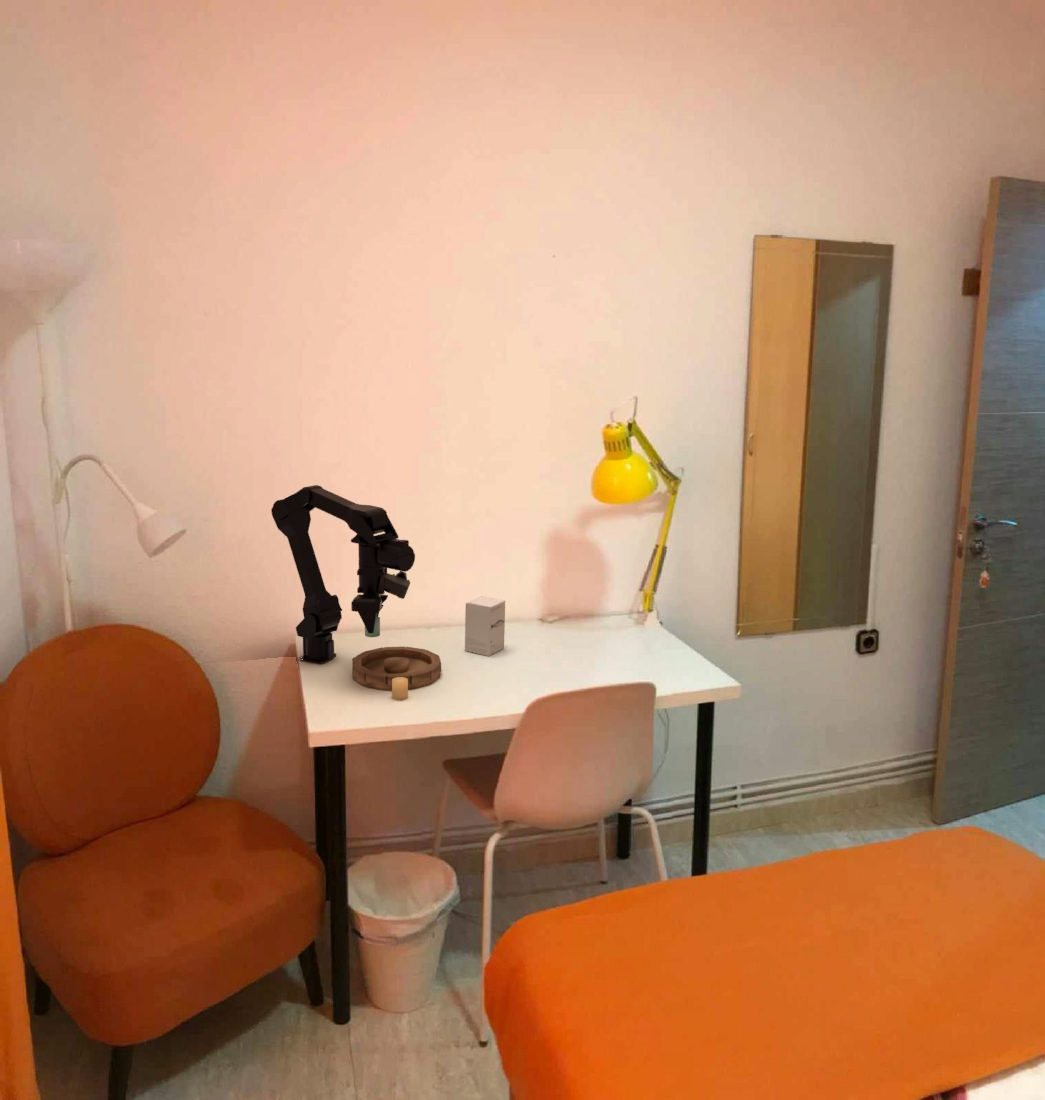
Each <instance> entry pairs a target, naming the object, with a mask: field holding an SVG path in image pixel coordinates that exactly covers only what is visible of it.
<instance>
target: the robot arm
mask: <svg viewBox="0 0 1045 1100" xmlns="http://www.w3.org/2000/svg"><path fill="white" fill-rule="evenodd" d="M315 508H316V509H318V510H319V511H323V512H324V513H327V514H328V515H331V516H333V517H334V518H337V519H339V520H342V521H343V522H345V523H346V524H347V526H348V528H349V529H350V530H351V531H352V532H354V534H355V533H356V535H355V536H353V537H352V538H351V539H350V542H351V543H353V544H358V569H357V571H356V576H358V587H357V591H356V593H357V595H356V596H355V597H353V599H352V601H351V612H357V613H358V615H359V617H360V619H361V621H362V622H363V624H364V628H365V627H366V629H367V631H368V633H373V632H374V627H375V621H376V616H378V617H379V614H380V612H381V610H382V609H383V607H384V603H385V602H386V600H387V599H388V597H389V595H388V594H390V595H393V596H396V597H397V598H399V599H401V600H403V599H405V597H406V596H407V593H408V590H409V587H410V584H411V581H410V579H408V577H407V576H408V575H407V572H408V571H410V570H411V569H412V568H413V566H414V563H415V561H416V554H415V551H414V549H413V547H412V546H410V541H409V540H408V539H399V535H398V533H397V531H396V529H395V528H394V526H393V524H392V521H391V520H390V517H389V515H388V514H387V511H386V510H385V508H383V507H380V506H376V505H371V504H359V503H356V502H354V501H352V500H349V499H347V498H345V497H344V496H343V497H342V496H341V495H338V494H336V493H334V492H331V491H329V490H327V489H324V488H323V487H322V486H321V485H318V484H314V485H308V486H304V487H302V488H301V489H300V490H298V491H297V492H294V493H293V494H291V495H289V496H287V497H285V498H283V499H278V500H276V501H274V503H273V504H272V508H271V510H270V511H271V516H272V518H273V521H274V523H275V525H276V527H277V529H278V530H279V531H280V532H281V533H282V535H284V536H285V537H286V538H287V540H288V544H289V547H290V551H291V554H292V557H293V561H294V564H295V567H296V571H297V573H298V576H299V580H300V583H301V586H302V590H303V593H304V601H303V605H302V614H303V619H302V620H301V621H300V622H299V623H298V624H297V625H296V627H295V629H296V630H295V631H296V634H297V636H298V637H301V638H302V656H301V657H302V658H300V657H299V660H300V659H303V660H305V661H304V662H310V663H317V664H325V663H326V662H328V661H330V660H332V659H333V658H335V657H336V656H337V653H335V640H334V639H333V632H337V631H338V627H339V625H340V622H341V620H342V616H343V615H342V611H343V609H342V607H341V605H340V600H339V596H338V595H337V594H333V595H332V594H331V593H330V592H329V591H328V590H327V589H326V586H325V583H324V580H323V576H322V573H321V569H320V567H319V563H318V560H317V556H316V554H315V550H314V546H313V543H312V540H311V537H310V533H309V530H310V525H311V521H312V519H311V513H310V512H312V511H313V510H314V509H315ZM388 569H392V570H395V571H398V573H396V574H395V573H393V574H392V573H388ZM385 592H386V593H388V594H386V593H385ZM303 660H302V661H303Z"/></svg>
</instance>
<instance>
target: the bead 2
mask: <svg viewBox="0 0 1045 1100" xmlns="http://www.w3.org/2000/svg"><path fill="white" fill-rule="evenodd" d="M391 692H392V693H391V699H393V700H395V701H404V700H405V701H406V700H407V699H408V698H409V690H408V679H407V678H405V677H396V678H393V679H392V690H391Z"/></svg>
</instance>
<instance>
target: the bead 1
mask: <svg viewBox="0 0 1045 1100" xmlns="http://www.w3.org/2000/svg"><path fill="white" fill-rule="evenodd" d="M364 635H365V637H367V638H377V637H380V636H381V617H380V616H379V615H378V616H376V621H375V627H374V632H373V633H368V631H367V629H366V627H365V626H364Z"/></svg>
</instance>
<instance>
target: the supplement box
mask: <svg viewBox="0 0 1045 1100" xmlns="http://www.w3.org/2000/svg"><path fill="white" fill-rule="evenodd" d="M464 615H465V616H464V617H465V618H464V619H465V621H464V623H465V624H464V626H465V627H464V629H465V630H464V651H466V652H468V651H469V653H472V652H473V654H476V653H477V654H478V655H481V654H482V655H481V656H486V657H489V656H491V655H492V654H494V653H495V654H496V653H497V652H499V651H501V650H504V649H505V634H506V633H505V631H506V630H505V627H506V625H505V622H506V600H503V599H498V598H493V597H487V596H479V597H477V598H475V599H474V598H473V599H472V600H469V601H467V602H465V614H464ZM477 654H476V655H477Z"/></svg>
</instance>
